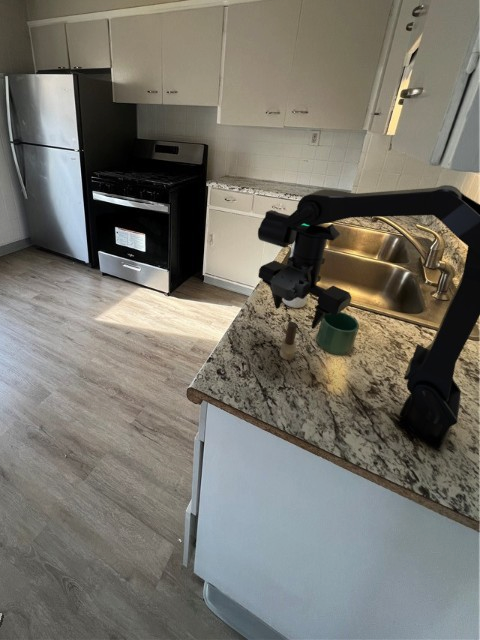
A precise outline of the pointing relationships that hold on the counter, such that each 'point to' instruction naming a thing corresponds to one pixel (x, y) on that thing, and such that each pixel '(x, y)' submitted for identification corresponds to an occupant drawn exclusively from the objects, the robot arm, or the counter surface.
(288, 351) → the brush
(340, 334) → the green plastic cup
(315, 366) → the counter surface
